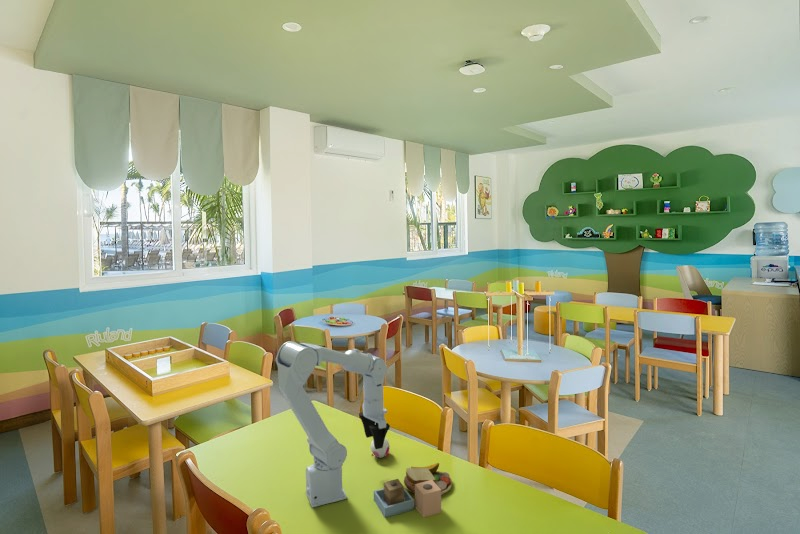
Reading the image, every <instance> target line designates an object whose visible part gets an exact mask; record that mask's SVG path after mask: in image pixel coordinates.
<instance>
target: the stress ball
mask: <svg viewBox="0 0 800 534" xmlns="http://www.w3.org/2000/svg"><path fill="white" fill-rule="evenodd" d="M390 448H391V447H390V442H389V440H388V439H387V438H386V437H385V440H384V444H383V448H380V449H375V446H374V440H373V439H372V441H371V443H370V451H371V453H372V454H371V456H375V457H377V458H384V457H386V456H387V455H388V456H391V454H389V451H390Z"/></svg>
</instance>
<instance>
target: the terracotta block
mask: <svg viewBox="0 0 800 534" xmlns="http://www.w3.org/2000/svg"><path fill="white" fill-rule="evenodd" d="M414 508H416V510H417V511H418V513H419V514H420V515H421V516H422V517H423V518H426V517H431V516H433V515H436V514H439V513H442V495H441V489H440V488H439V487H438V486H437V485H436V484H435V483H434V481H433V480H429V481H425V482H421V483H418V484H415V493H414Z"/></svg>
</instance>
